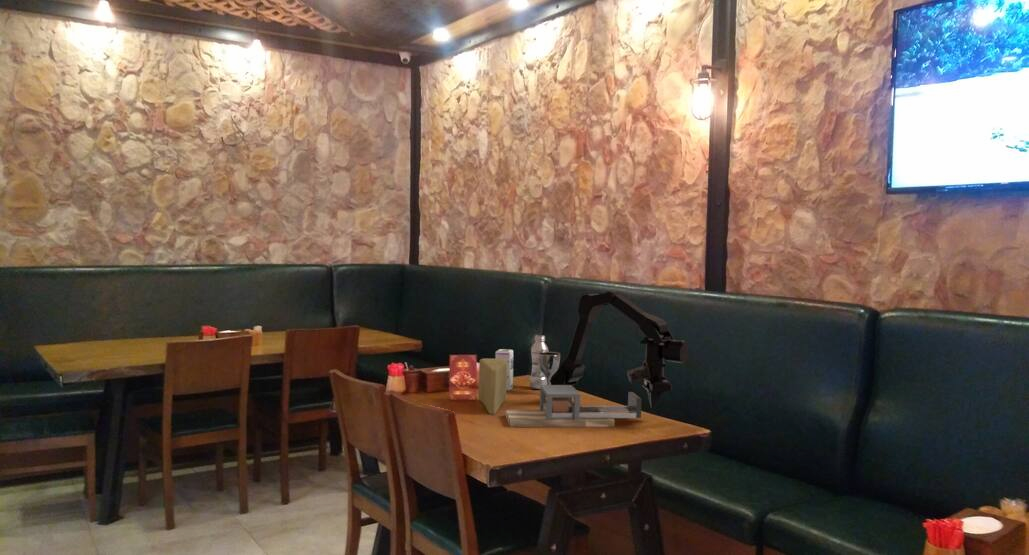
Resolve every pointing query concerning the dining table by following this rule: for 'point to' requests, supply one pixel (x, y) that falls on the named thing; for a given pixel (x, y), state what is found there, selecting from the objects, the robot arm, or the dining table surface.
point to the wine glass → (548, 363)
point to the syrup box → (508, 356)
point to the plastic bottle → (537, 374)
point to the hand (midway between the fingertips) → (652, 408)
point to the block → (560, 404)
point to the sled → (632, 407)
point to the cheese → (492, 383)
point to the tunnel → (559, 391)
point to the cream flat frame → (553, 420)
